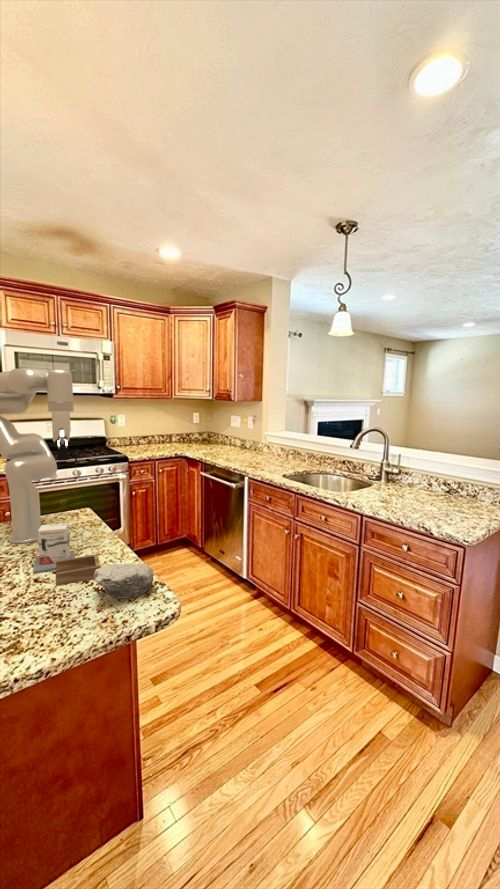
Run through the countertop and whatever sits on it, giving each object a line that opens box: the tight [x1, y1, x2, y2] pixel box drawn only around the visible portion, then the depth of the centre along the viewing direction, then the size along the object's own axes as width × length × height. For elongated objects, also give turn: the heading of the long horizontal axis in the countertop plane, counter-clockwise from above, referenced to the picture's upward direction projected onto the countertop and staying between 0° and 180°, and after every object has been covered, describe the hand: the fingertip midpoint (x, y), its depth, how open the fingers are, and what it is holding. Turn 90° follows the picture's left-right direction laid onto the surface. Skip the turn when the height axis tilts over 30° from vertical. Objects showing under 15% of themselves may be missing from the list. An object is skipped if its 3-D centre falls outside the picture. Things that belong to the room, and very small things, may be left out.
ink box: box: [37, 522, 71, 565], centre depth 121 cm, size 8×5×12 cm, turn 108°
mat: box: [32, 549, 76, 575], centre depth 122 cm, size 12×12×1 cm
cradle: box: [55, 553, 102, 587], centre depth 114 cm, size 10×12×4 cm
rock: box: [94, 562, 154, 600], centre depth 103 cm, size 11×17×10 cm, turn 126°
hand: (63, 457), depth 124 cm, fingers open, 9 cm apart
